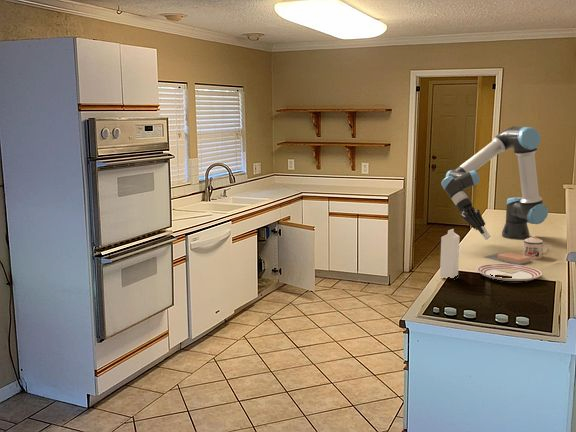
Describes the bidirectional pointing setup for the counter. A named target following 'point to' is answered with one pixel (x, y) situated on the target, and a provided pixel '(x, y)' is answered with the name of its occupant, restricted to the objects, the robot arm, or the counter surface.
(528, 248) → the teacup with lid
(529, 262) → the mat
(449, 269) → the milk
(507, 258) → the peach box
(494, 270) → the dinner plate
